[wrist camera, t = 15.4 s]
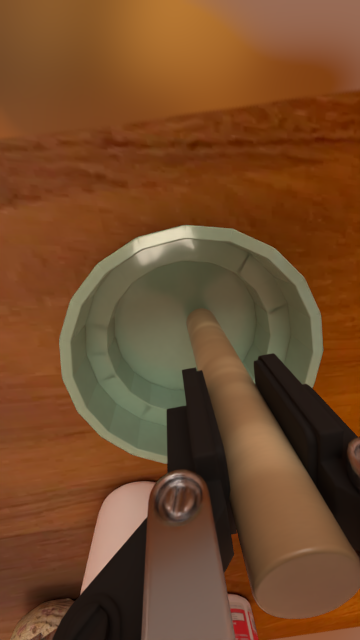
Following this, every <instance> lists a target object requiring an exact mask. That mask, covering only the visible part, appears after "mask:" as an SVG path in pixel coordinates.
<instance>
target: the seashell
mask: <svg viewBox="0 0 360 640" xmlns="http://www.w3.org/2000/svg"><path fill="white" fill-rule="evenodd" d="M74 602H75V601H73V600H71V599H70V598H67V599H57V600H52V601H48V602H43V603H42V604H40V605H38V606H37V607H36V608H34V609H33V610H31V611H30V612H29V613H27V614H26V615H25V616H24V617H23V618H22V619H21V620H20V621H19V622H18V624H17V626H16V627H15V630H14V632H13V634H12V637H11V639H10V640H30V639H32V638H33V637H35V636H36V635H38V634H39V633H42V634H43V636H44V637H45V636H46V635H48V634H49V633H50V632H52V631H53V630H55V629H56V628H58V626H59V624H60V621H61V619H62V618H63V617H64V615H65V614H66V612H67V611H68V609H69V608H70V607H71V605H72V604H73V603H74Z"/></svg>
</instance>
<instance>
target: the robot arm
mask: <svg viewBox="0 0 360 640" xmlns="http://www.w3.org/2000/svg"><path fill="white" fill-rule="evenodd" d="M254 375H255V385H256V387H257V388H258V390H259V392H260V393H261V395H262V397H263V398H264V400H265V402H266V403H267V405H268V407H269V408H270V410H271V412H272V414H273V415H274V417H275V419H276V420H277V422H278V424H279V425H280V427H281V429H282V430H283V432H284V434H285V435H286V437H287V439H288V440H289V442H290V444H291V445H292V447H293V449H294V450H295V452H296V454H297V455H298V457H299V459H300V461H301V462H302V464H303V466H304V467H305V469H306V471H307V472H308V474H309V476H310V477H311V479H312V481H313V482H314V484H315V486H316V487H317V489H318V491H319V492H320V494H321V496H322V497H323V499H324V501H325V502H326V504H327V506H328V507H329V509H330V511H331V513H332V514H333V516H334V518H335V519H336V521H337V523H338V524H339V526H340V528H341V529H342V531H343V533H344V534H345V536H346V538H347V539H348V541H349V543H350V544H351V546H352V548H353V549H354V551H355V553H356V554H357V556H358V558H359V560H360V437H357V436H356V435H355V433H354V432H353V431H352V430H351V429H350V428H349V427H348V426H347V425H346V424H345V423H344V422H343V421H342V420H341V419H340V417H339V416H338V415H337V414H336V413H335V412H334V411H333V410H332V409H331V408H330V407H329V406H328V405H327V404H326V403H325V401H324V400H323V399H322V398H321V397H320V396H319V395H318V394H317V393H316V392H315V391H314V390H313V389H312V388H311V387H310V386H309V385H308V384H301V382H300V381H299V380H298V379H297V378H296V377H295V376H294V375H293V374H292V372H291V371H290V370H289V369H288V368H287V367H286V366H285V365H284V364H283V362H282V361H281V360H280V359H279V358H278V357H277V356H276V355H275V354H274V353H272V354H267V355H261V356H258V360H255V361H254ZM182 376H183V383H184V391H185V398H186V406H180V407H175V408H169V409H167V413H166V414H167V468H168V473H167V474H165V475H164V476H162V477H161V478H160V479H159V480H158V481H157V482H156V483H155V484H154V486H153V488H152V490H151V492H150V496H149V500H148V515H147V518H146V519H145V520H144V521H143V522H142V523H141V525H140V526H139V527H138V528H137V529H136V530H135V532H134V533H133V534H132V535H131V536H130V537H129V539H128V540H127V541H126V542H125V543H124V544H123V546H122V547H121V548H120V549H119V550H118V551H117V553H116V554H115V555H114V556H113V557H112V558H111V560H110V561H109V562H108V563H107V564H106V565H105V567H104V568H103V569H102V570H101V571H100V573H99V574H98V575H97V576H96V577H95V578H94V580H93V581H92V582H91V583H90V584H89V585H88V587H87V588H86V589H85V590H84V591H83V592H82V594H81V595H80V596H79V597H78V598H77V599H76V601H75V602H74V603H73V604H72V605H71V607H70V608H69V609H68V611H67V612H66V614H65V615H64V617H63V618H62V619H61V621H60V624H59V626H58V628H56V629H55V630H53V631H52V632H50V633H49V634H48V635H46V636H45V637H44V636H43V634H42V633H39V634H38V635H36V636H35V637H33V638H32V639H30V640H236V638H235V632H234V627H233V621H232V616H231V610H230V604H229V599H228V593H227V588H226V582H225V577H224V572H225V571H226V569H227V567H228V565H229V563H230V561H231V559H232V558H233V556H234V551H233V545H232V538H231V534H236V533H237V532H236V525H235V521H234V517H233V513H232V508H231V504H230V499H229V496H230V483H229V476H228V469H227V462H226V456H225V451H224V447H223V443H222V439H221V436H220V432H219V428H218V425H217V421H216V418H215V414H214V410H213V407H212V403H211V400H210V396H209V393H208V389H207V385H206V382H205V378H204V375H203V371H202V370H200V371H197V370H196V367H195V368H189V369H184V370H182Z"/></svg>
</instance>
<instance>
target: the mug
mask: <svg viewBox="0 0 360 640" xmlns="http://www.w3.org/2000/svg"><path fill="white" fill-rule="evenodd" d="M155 483H156V482H150V481H138V482H132V483H128V484H125V485H123V486H121V487H119V488H117V489H116V490H114V491H113V492H112V493H110V494H109V495H108V497H107V498H106V499H105V500H104V502H103V504H102V506H101V509H100V511H99V515H98V518H97V522H96V527H95V531H94V536H93V540H92V544H91V549H90V553H89V557H88V562H87V566H86V571H85V575H84V579H83V584H82V588H81V592H80V595H81V594H82V592H83V591H84V590H85V589H86V588H87V587H88V585H89V584H90V583H91V582H92V581H93V580H94V578H95V577H96V576H97V575H98V574H99V573H100V571H101V570H102V569H103V568H104V567H105V565H106V564H107V563H108V562H109V561H110V560H111V558H112V557H113V556H114V555H115V554H116V553H117V551H118V550H119V549H120V548H121V547H122V546H123V544H124V543H125V542H126V541H127V540H128V539H129V537H130V536H131V535H132V534H133V533H134V532H135V530H136V529H137V528H138V527H139V526H140V525H141V523H142V522H143V521H144V520H145V519H146V518H147V515H148V500H149V496H150V492H151V490H152V488H153V486H154V484H155Z"/></svg>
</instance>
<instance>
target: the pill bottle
mask: <svg viewBox="0 0 360 640" xmlns="http://www.w3.org/2000/svg"><path fill="white" fill-rule="evenodd" d="M228 599H229V604H230V610H231V616H232V621H233V627H234V632H235V638H236V640H259V639H258V636H257V631H256V627H255V622H254V618H253V614H252V610H251V606H250V604H249V602H248V601H247V600H246V599H245V598H243V597H241V596H239V595H235V594H228Z"/></svg>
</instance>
